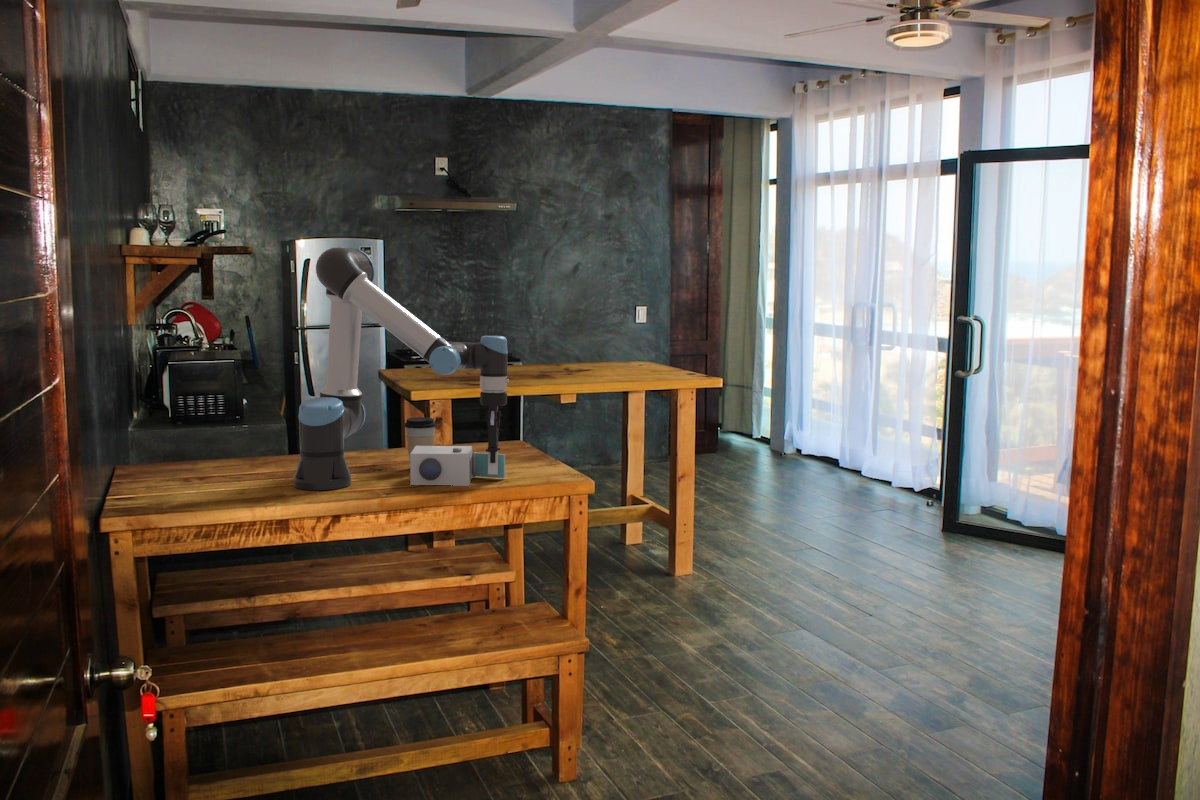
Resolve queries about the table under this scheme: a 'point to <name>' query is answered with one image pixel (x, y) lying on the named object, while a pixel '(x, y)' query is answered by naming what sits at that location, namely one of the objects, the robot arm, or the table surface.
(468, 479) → the cabinet body
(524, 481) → the table surface
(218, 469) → the table surface
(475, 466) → the side door
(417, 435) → the coffee cup
